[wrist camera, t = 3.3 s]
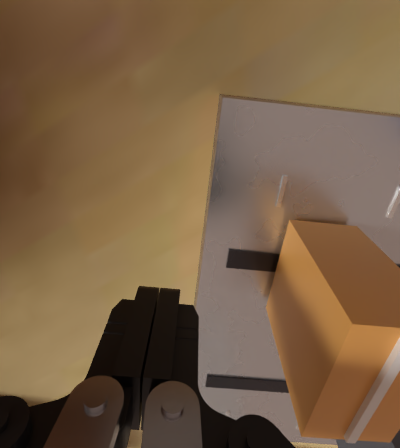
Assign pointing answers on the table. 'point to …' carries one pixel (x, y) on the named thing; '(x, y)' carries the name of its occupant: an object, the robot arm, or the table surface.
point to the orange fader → (338, 332)
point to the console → (280, 231)
